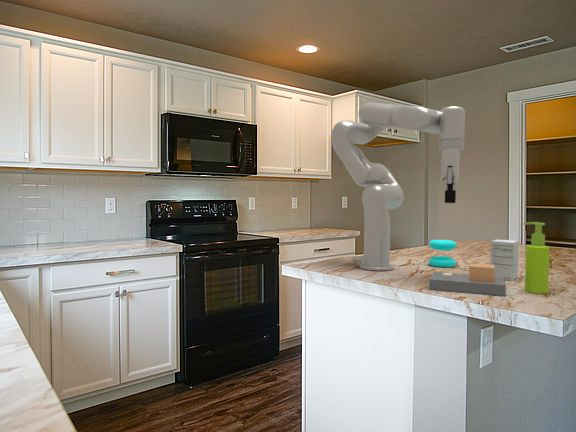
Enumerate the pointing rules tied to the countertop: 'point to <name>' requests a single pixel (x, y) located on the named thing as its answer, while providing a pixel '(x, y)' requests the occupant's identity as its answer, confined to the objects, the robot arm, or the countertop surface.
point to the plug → (482, 272)
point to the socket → (466, 284)
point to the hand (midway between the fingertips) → (450, 202)
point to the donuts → (442, 260)
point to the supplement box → (505, 258)
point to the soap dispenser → (537, 262)
